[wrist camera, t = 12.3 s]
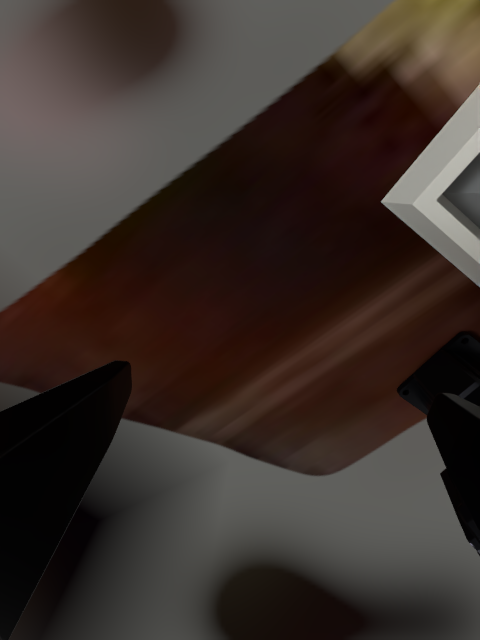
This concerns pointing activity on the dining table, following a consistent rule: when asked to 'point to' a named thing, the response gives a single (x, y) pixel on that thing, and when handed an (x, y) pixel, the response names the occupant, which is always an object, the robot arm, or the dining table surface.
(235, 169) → the dining table surface
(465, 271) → the socket box
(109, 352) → the dining table surface
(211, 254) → the dining table surface
